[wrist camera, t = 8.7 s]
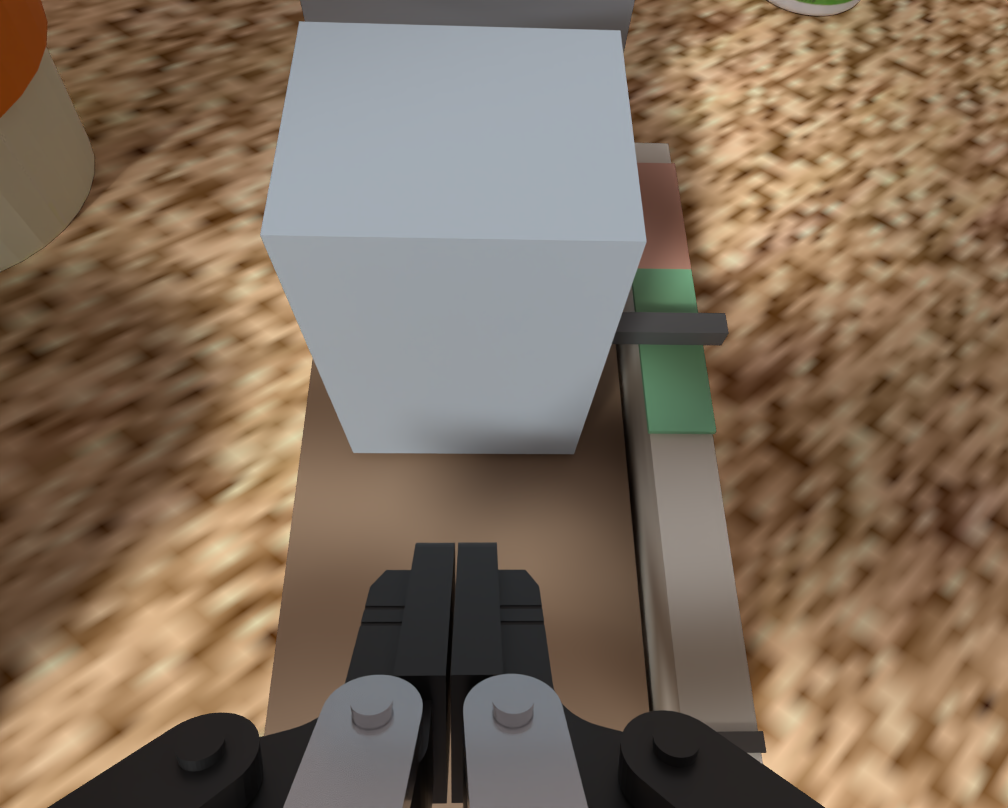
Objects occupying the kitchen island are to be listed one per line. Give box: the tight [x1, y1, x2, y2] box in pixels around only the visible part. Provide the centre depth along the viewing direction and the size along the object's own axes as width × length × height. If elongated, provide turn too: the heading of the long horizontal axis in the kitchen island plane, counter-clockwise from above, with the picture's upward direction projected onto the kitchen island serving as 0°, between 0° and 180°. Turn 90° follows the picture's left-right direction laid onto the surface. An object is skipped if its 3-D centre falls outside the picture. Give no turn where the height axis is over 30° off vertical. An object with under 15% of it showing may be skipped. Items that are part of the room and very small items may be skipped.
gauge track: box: [264, 0, 766, 808], centre depth 16 cm, size 28×11×12 cm, turn 0°
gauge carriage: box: [260, 22, 729, 454], centre depth 17 cm, size 8×10×9 cm
